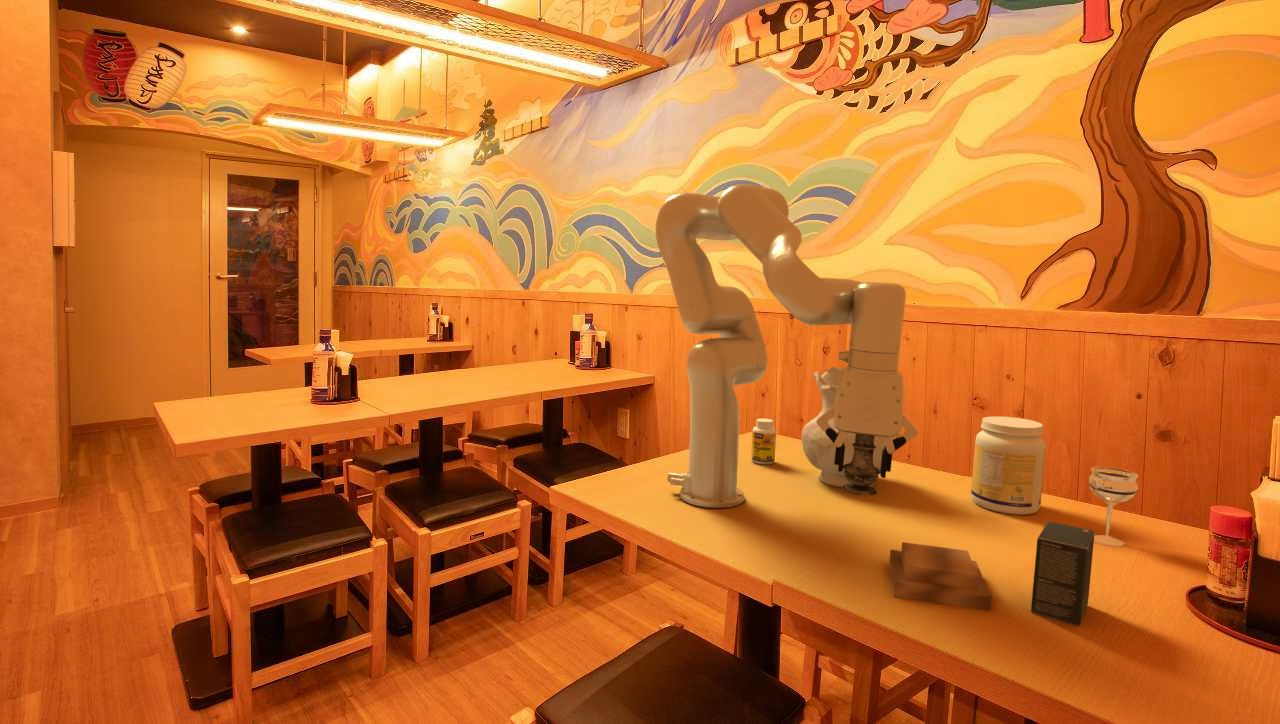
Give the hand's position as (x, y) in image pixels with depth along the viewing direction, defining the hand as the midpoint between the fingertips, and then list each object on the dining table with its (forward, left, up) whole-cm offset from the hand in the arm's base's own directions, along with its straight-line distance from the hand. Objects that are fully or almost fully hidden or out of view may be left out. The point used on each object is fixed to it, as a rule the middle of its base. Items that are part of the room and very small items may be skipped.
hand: (861, 471), depth 107 cm
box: (+26, -12, -13) cm, 31 cm away
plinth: (+11, -10, -13) cm, 20 cm away
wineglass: (+41, +19, -13) cm, 47 cm away
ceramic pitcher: (-1, +38, -13) cm, 40 cm away
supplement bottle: (-21, +47, -13) cm, 53 cm away
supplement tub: (+28, +33, -13) cm, 45 cm away
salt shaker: (0, 0, -3) cm, 3 cm away
